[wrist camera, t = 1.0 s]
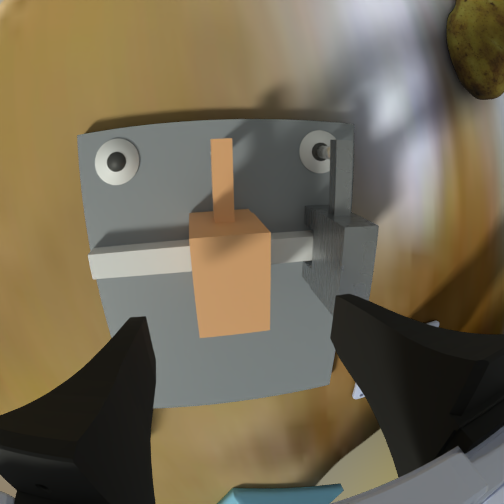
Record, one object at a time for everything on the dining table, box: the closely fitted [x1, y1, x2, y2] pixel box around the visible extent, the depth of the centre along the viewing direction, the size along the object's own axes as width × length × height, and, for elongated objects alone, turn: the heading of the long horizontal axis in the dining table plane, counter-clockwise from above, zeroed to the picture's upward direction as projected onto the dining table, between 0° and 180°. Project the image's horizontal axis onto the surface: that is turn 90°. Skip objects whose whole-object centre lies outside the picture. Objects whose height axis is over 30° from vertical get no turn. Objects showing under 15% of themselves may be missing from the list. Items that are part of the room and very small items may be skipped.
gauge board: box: [77, 119, 354, 408], centre depth 21 cm, size 18×22×2 cm
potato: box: [447, 0, 504, 100], centre depth 14 cm, size 8×13×8 cm, turn 150°
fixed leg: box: [302, 140, 379, 316], centre depth 17 cm, size 2×9×6 cm, turn 0°
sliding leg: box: [189, 138, 271, 338], centre depth 16 cm, size 4×9×6 cm, turn 0°
